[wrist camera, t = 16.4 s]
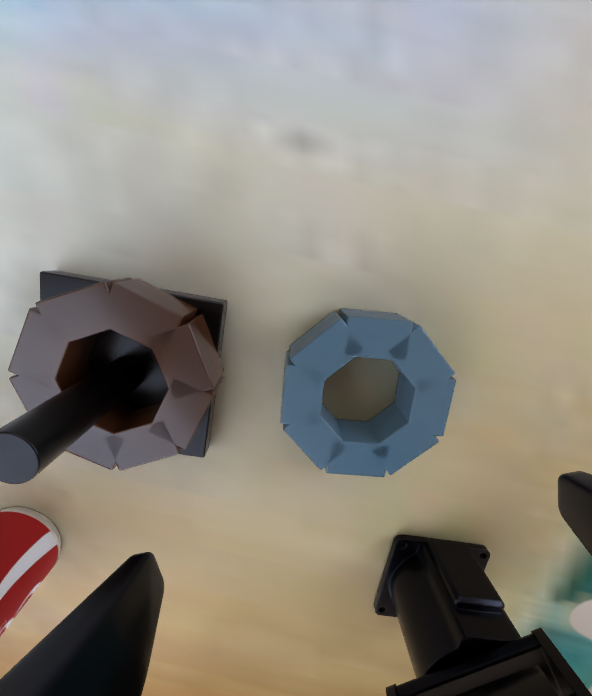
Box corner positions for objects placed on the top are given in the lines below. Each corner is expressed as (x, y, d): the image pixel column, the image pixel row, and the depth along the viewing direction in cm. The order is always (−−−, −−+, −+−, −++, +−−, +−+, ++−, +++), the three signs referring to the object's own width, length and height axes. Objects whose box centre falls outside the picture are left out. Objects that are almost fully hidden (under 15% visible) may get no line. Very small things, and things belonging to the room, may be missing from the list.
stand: (208, 447, 21) (149, 591, 12) (55, 424, 20) (-131, 559, 11) (227, 300, 18) (171, 341, 9) (55, 270, 18) (-179, 283, 9)
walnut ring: (179, 462, 19) (164, 492, 17) (31, 397, 18) (-11, 419, 16) (246, 332, 18) (239, 345, 15) (85, 250, 16) (49, 249, 14)
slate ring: (277, 443, 21) (276, 470, 18) (290, 303, 18) (291, 310, 16) (415, 454, 21) (433, 481, 19) (444, 317, 19) (469, 327, 16)
